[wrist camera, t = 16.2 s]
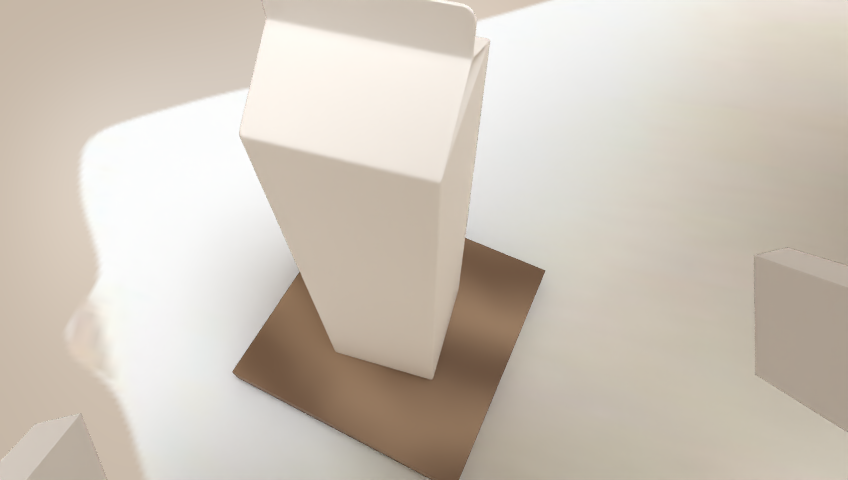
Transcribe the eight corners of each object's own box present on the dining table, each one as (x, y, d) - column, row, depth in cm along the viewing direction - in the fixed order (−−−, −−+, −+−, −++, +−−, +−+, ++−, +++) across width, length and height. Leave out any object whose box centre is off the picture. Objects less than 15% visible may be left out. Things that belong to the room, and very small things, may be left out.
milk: (368, 266, 34) (296, -98, 15) (460, 290, 33) (505, -65, 14) (333, 355, 31) (190, 38, 12) (433, 384, 30) (446, 91, 11)
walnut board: (355, 202, 38) (353, 192, 37) (541, 279, 35) (545, 270, 34) (238, 377, 32) (232, 372, 31) (453, 491, 29) (455, 488, 28)
